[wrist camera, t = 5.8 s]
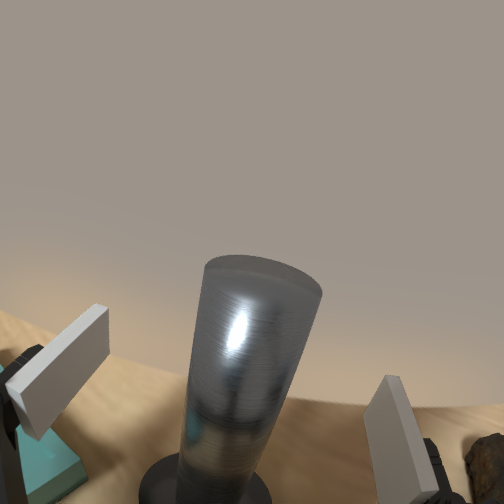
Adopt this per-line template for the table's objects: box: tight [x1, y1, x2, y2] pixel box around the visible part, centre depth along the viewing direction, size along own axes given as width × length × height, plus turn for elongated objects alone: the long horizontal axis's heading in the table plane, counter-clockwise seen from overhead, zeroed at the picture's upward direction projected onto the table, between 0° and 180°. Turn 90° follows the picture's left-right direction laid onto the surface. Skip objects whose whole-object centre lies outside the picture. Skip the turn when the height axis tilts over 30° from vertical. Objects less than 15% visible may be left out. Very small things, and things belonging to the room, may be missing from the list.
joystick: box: [139, 255, 322, 504], centre depth 11 cm, size 7×7×14 cm
